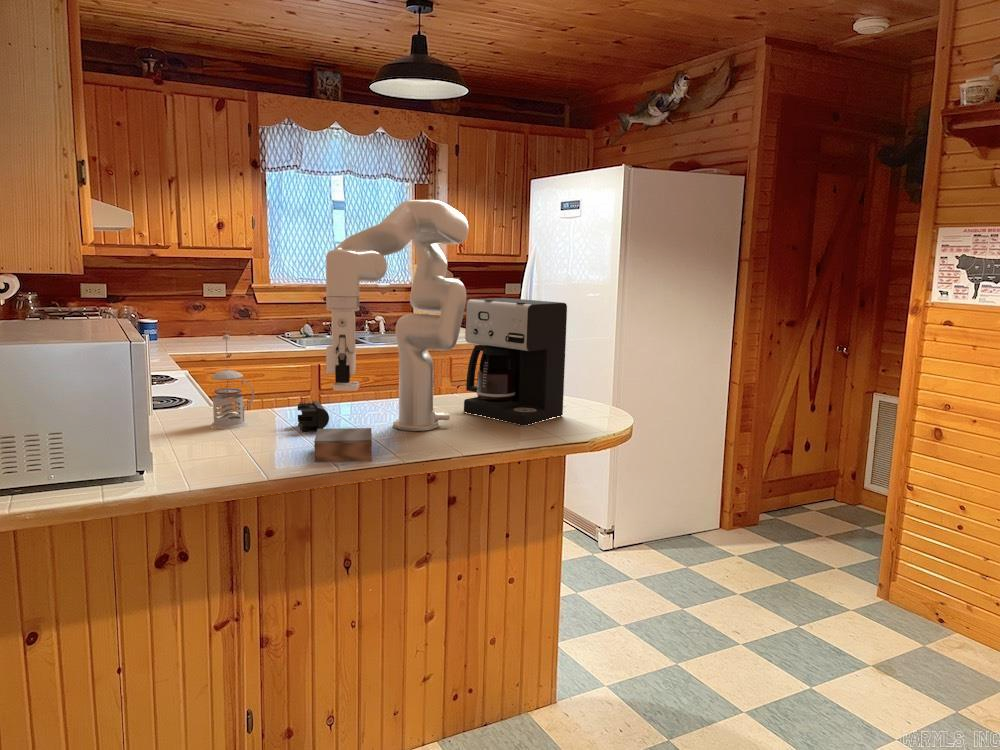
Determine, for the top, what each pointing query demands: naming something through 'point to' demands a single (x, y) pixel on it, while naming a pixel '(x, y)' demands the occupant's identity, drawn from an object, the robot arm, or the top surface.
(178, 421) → the top surface
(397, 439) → the top surface
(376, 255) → the robot arm
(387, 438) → the top surface
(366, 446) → the walnut stand
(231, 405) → the french press
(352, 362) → the security camera
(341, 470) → the top surface
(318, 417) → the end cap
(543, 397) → the coffee maker
